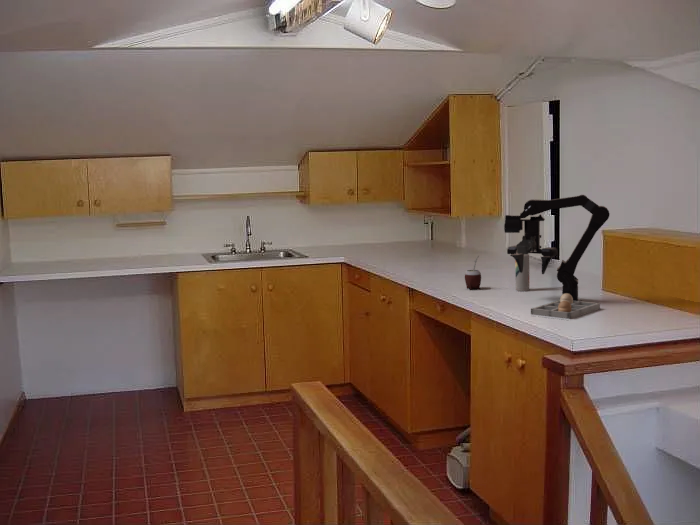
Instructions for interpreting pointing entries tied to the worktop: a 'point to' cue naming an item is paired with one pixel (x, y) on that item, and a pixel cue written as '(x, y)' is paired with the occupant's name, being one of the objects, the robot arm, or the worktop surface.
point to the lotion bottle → (522, 275)
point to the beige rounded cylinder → (566, 298)
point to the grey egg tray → (576, 310)
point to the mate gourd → (473, 278)
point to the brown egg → (564, 306)
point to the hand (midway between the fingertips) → (532, 273)
